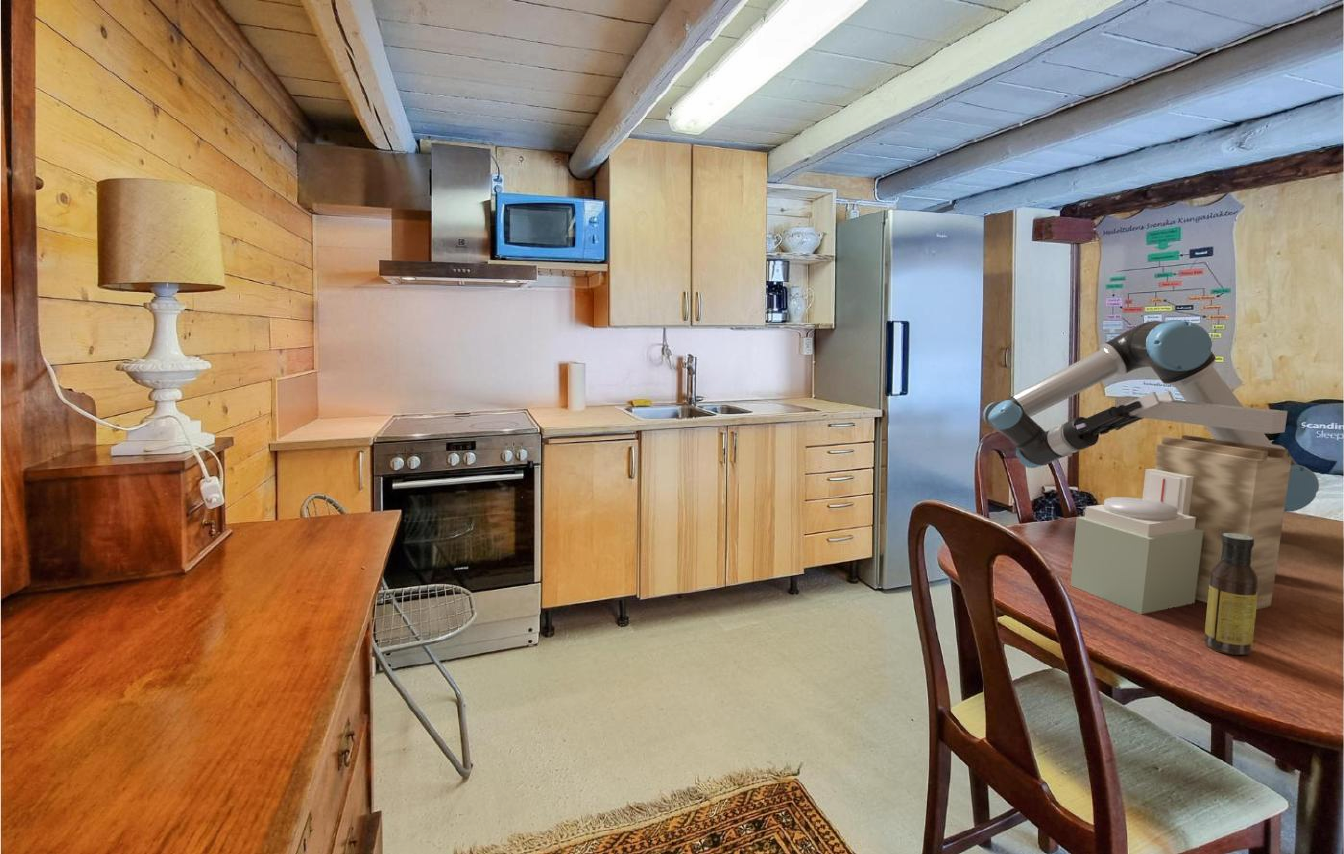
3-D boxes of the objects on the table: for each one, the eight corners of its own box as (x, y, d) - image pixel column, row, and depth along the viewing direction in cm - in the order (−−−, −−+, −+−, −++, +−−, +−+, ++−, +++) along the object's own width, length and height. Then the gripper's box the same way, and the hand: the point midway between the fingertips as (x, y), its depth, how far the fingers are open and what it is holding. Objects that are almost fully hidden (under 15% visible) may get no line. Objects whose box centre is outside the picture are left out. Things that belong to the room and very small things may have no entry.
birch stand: (1142, 579, 140) (1158, 437, 136) (1174, 574, 144) (1190, 434, 139) (1237, 613, 123) (1258, 452, 119) (1270, 606, 127) (1293, 449, 122)
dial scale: (1084, 518, 135) (1089, 471, 133) (1135, 511, 140) (1140, 466, 138) (1147, 536, 123) (1153, 485, 121) (1201, 528, 127) (1207, 479, 126)
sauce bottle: (1260, 654, 108) (1276, 540, 105) (1231, 659, 107) (1247, 543, 104) (1220, 637, 114) (1234, 529, 111) (1192, 641, 113) (1206, 531, 110)
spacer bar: (1113, 414, 147) (1115, 396, 147) (1126, 413, 149) (1128, 396, 148) (1270, 433, 119) (1273, 412, 119) (1284, 432, 121) (1287, 411, 120)
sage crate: (1070, 585, 138) (1076, 517, 135) (1120, 576, 142) (1127, 510, 140) (1141, 614, 123) (1149, 539, 121) (1194, 603, 128) (1203, 530, 126)
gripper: (1104, 448, 161) (1198, 411, 140) (1053, 452, 155) (1143, 415, 135) (1093, 420, 163) (1183, 380, 143) (1042, 424, 158) (1128, 382, 137)
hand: (1163, 397), depth 139 cm, fingers closed on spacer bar, 4 cm apart
